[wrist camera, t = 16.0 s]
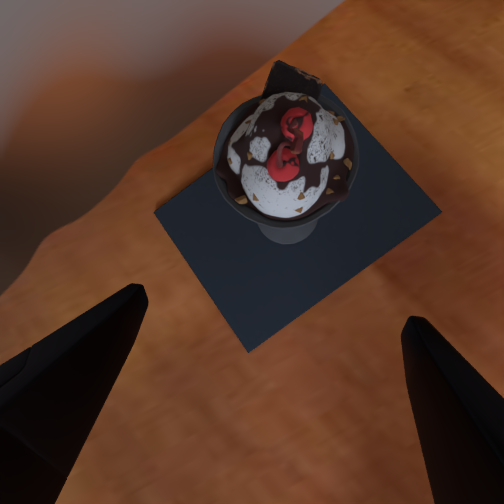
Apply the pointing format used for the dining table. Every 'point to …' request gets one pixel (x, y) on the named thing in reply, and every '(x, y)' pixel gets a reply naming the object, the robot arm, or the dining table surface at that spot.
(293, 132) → the sundae
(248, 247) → the dark blue rectangular panel
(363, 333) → the dining table surface
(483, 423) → the robot arm
